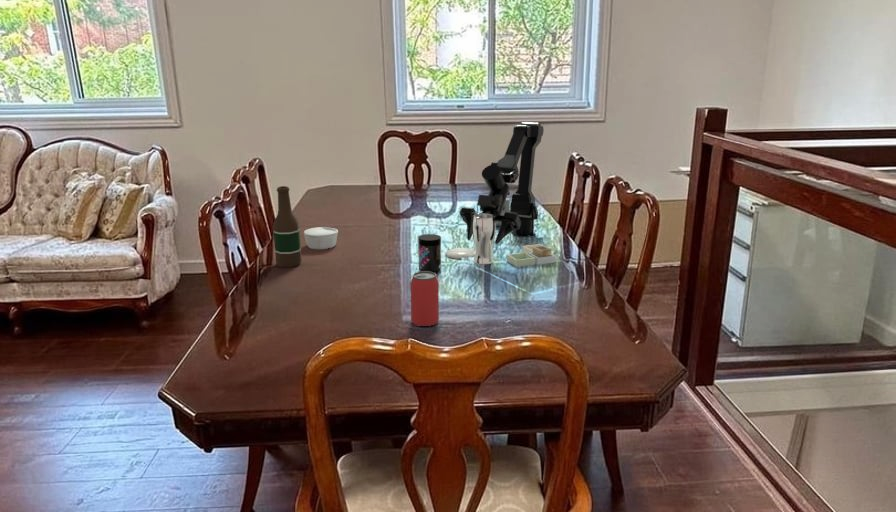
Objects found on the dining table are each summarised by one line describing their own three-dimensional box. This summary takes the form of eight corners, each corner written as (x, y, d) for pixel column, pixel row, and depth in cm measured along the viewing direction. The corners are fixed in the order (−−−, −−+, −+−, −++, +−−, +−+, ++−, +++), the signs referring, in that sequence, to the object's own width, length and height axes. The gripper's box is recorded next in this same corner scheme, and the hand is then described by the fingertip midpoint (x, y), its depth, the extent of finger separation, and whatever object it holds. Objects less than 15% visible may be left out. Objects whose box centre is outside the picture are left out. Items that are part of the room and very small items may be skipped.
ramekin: (345, 243, 209) (344, 228, 208) (325, 252, 200) (324, 236, 198) (318, 239, 214) (317, 225, 212) (298, 248, 204) (296, 233, 202)
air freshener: (499, 229, 227) (499, 202, 224) (483, 224, 233) (483, 199, 230) (519, 224, 234) (519, 198, 231) (503, 220, 240) (504, 195, 237)
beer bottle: (307, 261, 190) (301, 185, 183) (293, 269, 183) (286, 190, 176) (285, 259, 193) (279, 183, 185) (270, 266, 186) (263, 188, 178)
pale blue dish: (545, 257, 194) (545, 250, 193) (555, 263, 188) (556, 256, 187) (527, 260, 191) (527, 252, 191) (537, 266, 186) (537, 258, 185)
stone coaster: (469, 248, 203) (469, 246, 203) (481, 256, 195) (481, 255, 194) (441, 251, 200) (441, 250, 200) (452, 260, 191) (452, 258, 191)
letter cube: (542, 257, 192) (542, 245, 191) (550, 261, 189) (551, 248, 188) (532, 259, 190) (532, 247, 189) (540, 263, 187) (541, 250, 186)
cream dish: (539, 251, 200) (539, 243, 200) (549, 256, 195) (550, 249, 194) (522, 253, 198) (522, 245, 197) (531, 258, 193) (532, 251, 192)
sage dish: (524, 259, 192) (525, 252, 191) (534, 265, 186) (535, 258, 185) (506, 262, 189) (506, 254, 189) (516, 268, 184) (516, 260, 183)
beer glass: (493, 267, 185) (494, 218, 181) (470, 265, 186) (471, 217, 182) (496, 260, 192) (497, 213, 187) (474, 258, 193) (474, 212, 188)
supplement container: (419, 266, 185) (419, 233, 182) (442, 267, 185) (442, 234, 182) (417, 274, 179) (416, 240, 176) (440, 274, 178) (440, 240, 175)
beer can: (410, 317, 149) (409, 270, 145) (437, 316, 149) (437, 269, 146) (411, 328, 142) (410, 280, 139) (439, 327, 143) (439, 279, 139)
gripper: (462, 181, 189) (446, 224, 183) (519, 186, 181) (504, 231, 175) (472, 201, 198) (457, 242, 192) (526, 207, 190) (513, 250, 184)
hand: (482, 241), depth 186 cm, fingers open, 9 cm apart
